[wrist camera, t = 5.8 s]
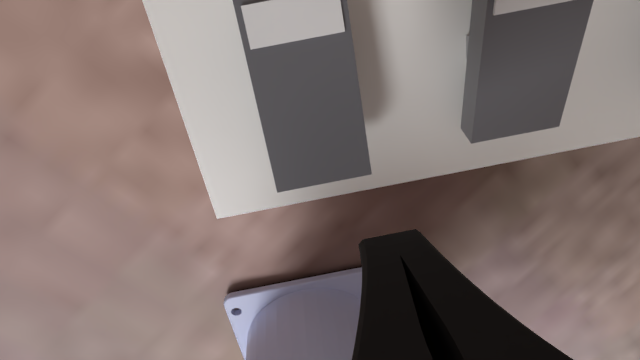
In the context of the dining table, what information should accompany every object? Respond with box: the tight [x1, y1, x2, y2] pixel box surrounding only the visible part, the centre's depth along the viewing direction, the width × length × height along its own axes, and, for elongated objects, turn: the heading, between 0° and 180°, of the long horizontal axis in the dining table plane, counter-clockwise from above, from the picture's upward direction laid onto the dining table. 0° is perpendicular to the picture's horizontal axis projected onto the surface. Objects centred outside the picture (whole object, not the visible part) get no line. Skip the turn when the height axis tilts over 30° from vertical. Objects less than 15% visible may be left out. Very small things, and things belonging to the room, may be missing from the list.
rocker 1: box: [233, 0, 372, 193], centre depth 14 cm, size 6×3×1 cm, turn 9°
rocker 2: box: [461, 0, 594, 144], centre depth 14 cm, size 6×3×1 cm, turn 10°
